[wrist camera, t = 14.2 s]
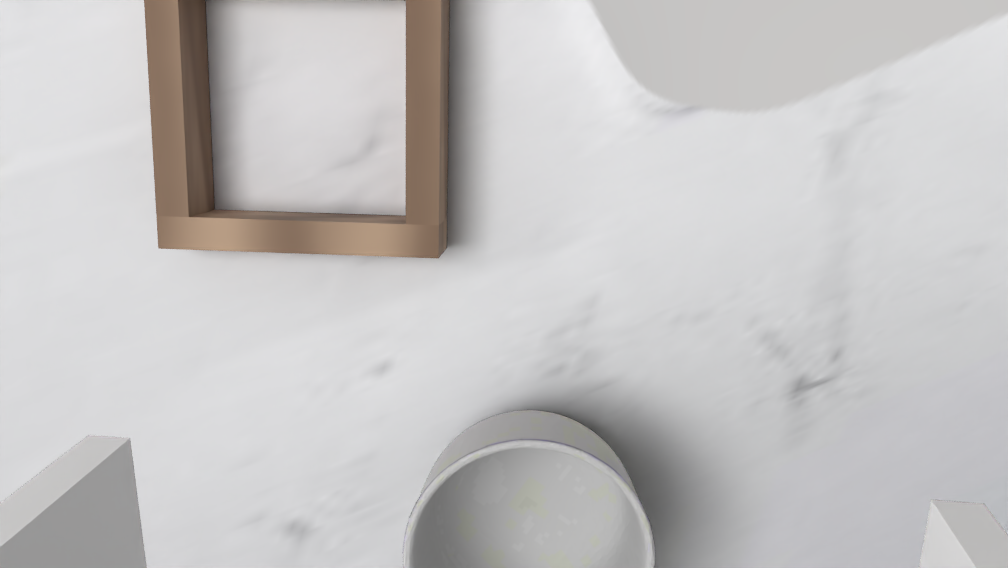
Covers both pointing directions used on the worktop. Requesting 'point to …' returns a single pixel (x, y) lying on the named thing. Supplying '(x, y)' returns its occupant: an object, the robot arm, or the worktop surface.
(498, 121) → the worktop surface
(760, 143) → the worktop surface
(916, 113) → the worktop surface
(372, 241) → the pocket frame
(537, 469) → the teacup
